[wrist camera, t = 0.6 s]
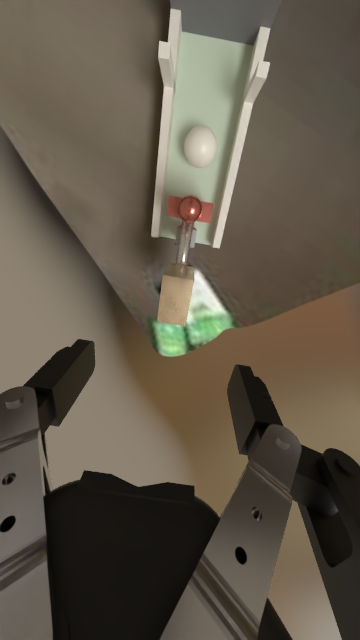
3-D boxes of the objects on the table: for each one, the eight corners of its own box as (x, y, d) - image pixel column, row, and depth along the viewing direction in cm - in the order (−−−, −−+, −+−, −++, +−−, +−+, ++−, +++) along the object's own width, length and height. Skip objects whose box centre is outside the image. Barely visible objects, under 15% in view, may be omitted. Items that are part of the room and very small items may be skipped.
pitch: (174, 23, 23) (167, -67, 16) (262, 40, 23) (295, -41, 16) (154, 234, 32) (144, 239, 25) (216, 245, 33) (223, 252, 26)
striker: (174, 198, 28) (161, 182, 16) (209, 204, 28) (223, 193, 16) (163, 283, 34) (147, 319, 22) (193, 288, 34) (194, 327, 22)
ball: (187, 129, 26) (186, 115, 22) (218, 135, 26) (222, 122, 22) (182, 168, 28) (181, 160, 24) (211, 173, 28) (214, 166, 24)
